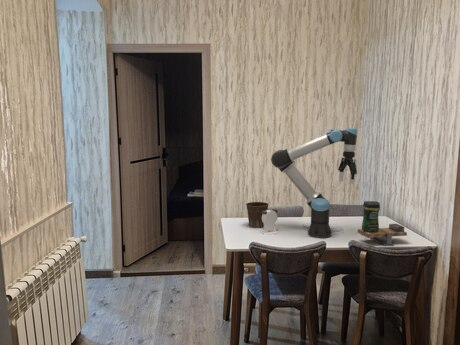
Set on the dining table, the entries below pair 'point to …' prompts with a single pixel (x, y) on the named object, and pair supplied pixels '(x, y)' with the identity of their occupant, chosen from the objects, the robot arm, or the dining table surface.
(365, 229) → the coffee jar
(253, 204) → the plant pot
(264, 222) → the white sculpture
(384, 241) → the beam stand
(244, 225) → the dining table surface
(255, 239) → the dining table surface
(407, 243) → the dining table surface
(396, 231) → the seesaw beam
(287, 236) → the dining table surface
